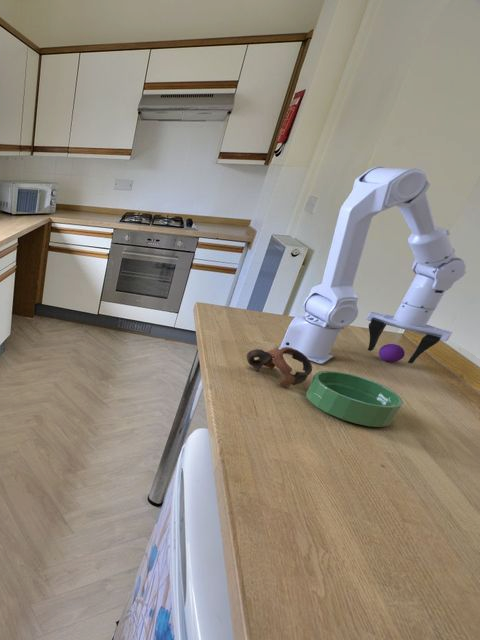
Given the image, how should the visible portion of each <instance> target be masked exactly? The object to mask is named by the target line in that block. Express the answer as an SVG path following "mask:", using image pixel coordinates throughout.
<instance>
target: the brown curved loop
mask: <svg viewBox="0 0 480 640" xmlns="http://www.w3.org/2000/svg"><path fill="white" fill-rule="evenodd" d="M284 354H285V355H286V354H291V355H292V356H291V358H292V359H293V360H295V361H298V362H300V363H302V366H303V367H302V371H296V372H295V373H294V374H293V373H291V372H292V371H293V368H292V367H291V366H290V365H289V364H288V363H287V362H286V360H285V358H284ZM255 358H258V359H255ZM246 361H247V363H248V365H250V366H251V367H252V370H253V371H254V372H256V373H258V372H259V371H260V369H261V368H262V367H263V366H264V367H267V368H269V369H272V370H273V369H274V368H276V369H278V370H279V372H280V373H281V374H282V375H283V376H284V378H283V379H282V380H280V381H279V382H278V385H279V386H281V387H282V388H287V387H290V386H291V385H292V386H295V385H299V384H302V383H304V382H305V381H306V380H307V378H308V377H309V375H311V373H312V371H313V365H312V362H311V361H310V360H308V358H307V357H306V356H305V355H304V354H302V353H301V352H300V351H298V350H296V349H293V348H289V347H284V348H282V349H279V348H275V349H270V350H268V351H265V350H263V349H260V348H259V349H258V348H257V349H252V350H250V351H248V352H247V354H246Z"/></svg>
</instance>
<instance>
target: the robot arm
mask: <svg viewBox="0 0 480 640" xmlns="http://www.w3.org/2000/svg"><path fill="white" fill-rule="evenodd" d="M430 187H431V184H430V182H429V181H428V179H427V174H426V172H425V171H424V170H422V169H421V168H398V167H385V166H375V167H372V168H369V169H368V170H366V171H365V172H364V173H362V174H361V175H359V176H358V177H356V178H355V179H354V182H353V187H352V190H351V191H350V193H349V195H348V196H347V198H346V199H345V201H344V202H343V204H342V205H341V207H340V209H339V213H338V217H337V221H336V224H335V229H334V233H333V237H332V241H331V245H330V248H329V253H328V257H327V261H326V263H325V264H326V265H325V269H324V273H323V277H322V280H321V283H319V284H317V285H314V286H313V287H311V289H310V292H309V295H308V296H307V297H306V298H305V300H304V302H303V304H302V305H303V306H302V307H303V311H304V313H305V314H304V316H301V315H296V316H294V318H293V319H292V320H291V322H290V324H289V325H288V327H287V329H286V332H285V335H284V337H283V339H282V342H281V344H280V345H279V347H278V349H282V348H284V347H289V348H293V349H296V350H298V351H300V352H301V353H302V354H304V355H305V356H306V357H307V358H308V360H309V361H310V362H313V363H316V364H318V365H324V364H325V363H326V362H328V361H329V360H331V359H332V358H333V357H334V355H333V354H330V352H332V349H333V347H334V345H335V342H336V340H337V338H338V336H339V334H340V332H341V330H344V329H345V328H346V327H348V326H350V325H352V324H353V323H354V322H355V321H356V319H357V318H358V316H359V308H358V305H357V304H358V300H359V297H358V295H357V293H356V291H355V289H354V283H355V279H356V275H357V272H358V269H359V264H360V261H361V259H362V258H361V257H362V254H363V250H364V248H365V244H366V240H367V236H368V233H369V229H370V226H371V223H372V220H373V217H375V216H377V215H378V214H379V213H381V212H384V211H386V210H388V209H391V208H393V207H398V210H399V211H400V213H401V215H402V217H403V219H404V221H405V223H406V224H407V226H408V228H409V230H410V231H411V234H410V235H409V237H408V238H407V244H408V245H409V248H410V250H411V252H412V254H413V257H414V261H413V264H412V266H411V270H412V272H413V273H414V274H415V277H414V278H413V280H412V282H411V284H410V286H409V288H408V289H407V292H406V293H405V295H404V297H403V299H402V300H401V303H400V305H399V306H398V308H397V309H396V312H395V314H394V315H389V314H384V313H379V312H375V311H370V312H369V313H368V315H367V316H366V317H365V320H366V321H368V322H369V323H368V331H369V332H368V333H369V343H368V347H367V351H370V352H372V351H374V350H375V348H376V345H377V343H378V341H379V339H380V336H382V334H383V331H385V328H386V326H390V327H394V328H397V329H401V330H405V331H409V332H413V333H416V334H420V335H423V337H422V338H421V340H420V342H419V344H418V346H417V348H416V350H415V351H414V353H413V354H411V356H410V358H409V359H408V361H407V363H408V364H413V363H414V362H416V360H417V358H418V357H419V356H421V354H423V353H424V352H426V351H427V350H428V349H430V348H432V347H433V346H434V345H437V343H439V342H440V341H442V342H447V341H449V339H450V338H451V336H452V334H453V331H449V330H446V329H443V328H439V327H436V326H433V325H430V324H428V322H429V321H430V319H431V317H432V315H433V314H434V312H435V310H436V308H437V307H438V305H439V303H440V302H441V300H442V298H443V296H444V295H445V293H446V291H449V290H450V289H451V288H452V287H453V285H454V284H455V283H456V282H457V281H459V280H460V279H462V278H463V277H464V276H465V275H466V273H467V270H466V263H465V261H464V259H462V258H460V257H456V250H455V248H454V247H453V246H452V243H451V241H450V237H449V236H450V235H451V233H450V231H449V230H448V229H446V228H444V227H441V226H438V225H437V226H436V223H435V221H434V217H433V214H432V209H431V206H430V201H429V199H428V195H427V192H428V190H429V188H430Z"/></svg>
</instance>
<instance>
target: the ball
mask: <svg viewBox="0 0 480 640" xmlns="http://www.w3.org/2000/svg"><path fill="white" fill-rule="evenodd" d="M405 354H406V353H405V349H404V348H403V347H402V346H401V345H399V344H395V343H387V344H384V345H383V346H381V347H380V348H379V350H378V355H379V358H381V360H383V361H385V362H389V363H393V362H394V363H395V362H399V361H401V360H403V358H405Z"/></svg>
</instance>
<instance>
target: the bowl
mask: <svg viewBox="0 0 480 640" xmlns="http://www.w3.org/2000/svg"><path fill="white" fill-rule="evenodd" d="M305 396H306V398H307V399H308V401H309V403H311V404H312V405H314V406H315V407H316V408H318V409H319V410H321V411H323V412H324V413H327V414H328V415H330V416H333V417H335V418H337V419H340V420H342V421H346V422H349V423H352V424H356V425H361V426H366V427H375V428H384V427H387V426H391V424H392V422H394V419H395V418H396V417H397V414H399V412H400V410H401V408H402V407H403V405H404V400H403V397H401V396H400V394H398V393H397V392H395V391H394V390H392V389H390V388H389V387H387V386H385V385H383V384H381V383H379V382H376V381H374V380H371V379H368V378H366V377H362V376H359V375H355V374H351V373H347V372H343V371H336V370H335V371H334V370H321V371H318V372H316V373H315V374H314V375H313V377H312V379H311V381H310V383H309V386H308V387H307V389H306V391H305Z"/></svg>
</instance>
